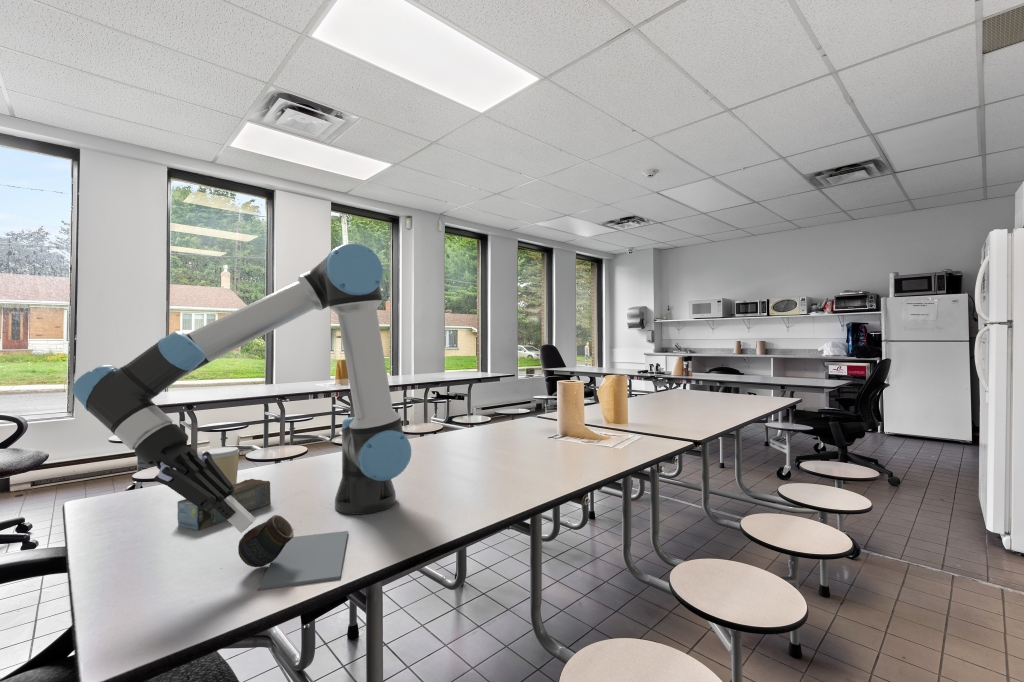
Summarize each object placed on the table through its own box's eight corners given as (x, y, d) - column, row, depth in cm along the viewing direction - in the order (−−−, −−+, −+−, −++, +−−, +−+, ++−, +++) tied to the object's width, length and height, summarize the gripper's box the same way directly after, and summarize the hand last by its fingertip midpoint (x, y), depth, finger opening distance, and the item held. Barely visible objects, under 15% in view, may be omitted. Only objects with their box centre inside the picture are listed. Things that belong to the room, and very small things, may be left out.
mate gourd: (267, 563, 88) (310, 526, 89) (252, 581, 80) (299, 540, 82) (242, 535, 87) (286, 499, 89) (225, 550, 80) (272, 510, 81)
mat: (347, 533, 100) (347, 530, 100) (339, 578, 80) (339, 576, 80) (283, 540, 96) (283, 537, 96) (258, 590, 77) (258, 587, 77)
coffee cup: (212, 487, 132) (212, 446, 133) (245, 486, 133) (245, 446, 133) (192, 498, 123) (192, 454, 123) (228, 497, 124) (228, 453, 124)
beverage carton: (175, 526, 105) (175, 498, 105) (252, 500, 122) (252, 476, 122) (197, 532, 101) (197, 502, 101) (272, 504, 119) (272, 479, 119)
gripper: (163, 444, 89) (251, 526, 90) (109, 460, 76) (212, 557, 77) (192, 416, 89) (279, 499, 90) (143, 428, 76) (245, 525, 77)
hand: (248, 526), depth 84 cm, fingers closed
